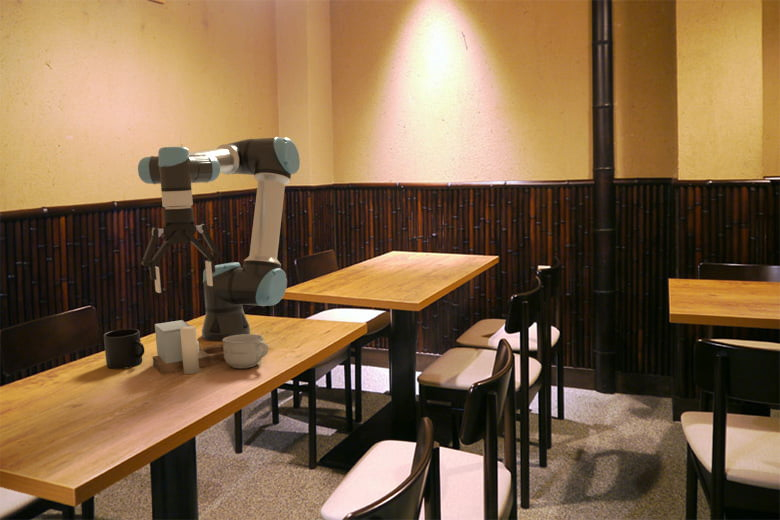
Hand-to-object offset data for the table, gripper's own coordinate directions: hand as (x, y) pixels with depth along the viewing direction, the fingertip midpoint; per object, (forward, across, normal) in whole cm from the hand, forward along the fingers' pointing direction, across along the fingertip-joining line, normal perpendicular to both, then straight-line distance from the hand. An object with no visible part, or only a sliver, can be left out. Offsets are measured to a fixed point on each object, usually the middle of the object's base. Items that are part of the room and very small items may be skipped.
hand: (184, 288), depth 176 cm
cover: (+20, +2, -8) cm, 22 cm away
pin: (+23, 0, 0) cm, 23 cm away
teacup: (+23, -14, +5) cm, 27 cm away
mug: (+23, +13, -18) cm, 32 cm away
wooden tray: (+23, -2, -8) cm, 24 cm away
